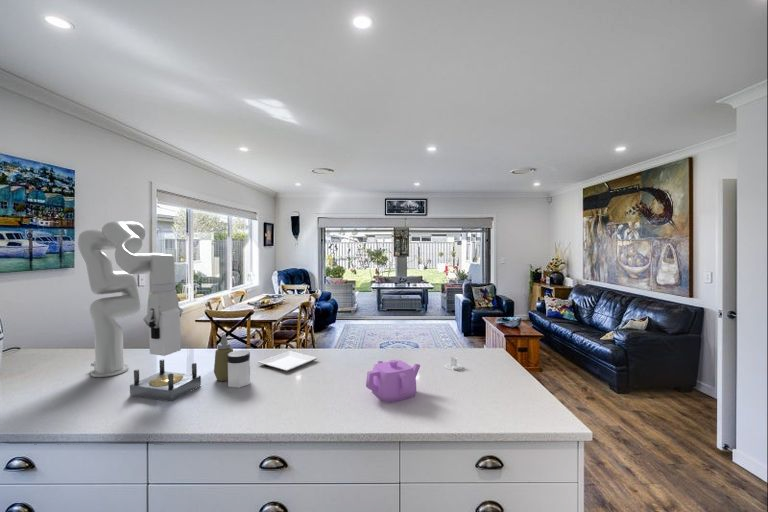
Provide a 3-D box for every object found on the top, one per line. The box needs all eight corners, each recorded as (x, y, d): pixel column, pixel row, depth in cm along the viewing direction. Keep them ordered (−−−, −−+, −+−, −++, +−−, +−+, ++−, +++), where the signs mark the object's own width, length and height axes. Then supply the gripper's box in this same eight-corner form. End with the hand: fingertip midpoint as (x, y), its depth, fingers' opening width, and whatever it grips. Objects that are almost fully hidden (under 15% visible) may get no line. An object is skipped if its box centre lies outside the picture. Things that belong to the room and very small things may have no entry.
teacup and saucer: (461, 372, 157) (461, 363, 157) (442, 370, 159) (442, 361, 159) (463, 365, 165) (463, 356, 165) (445, 363, 168) (446, 354, 168)
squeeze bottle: (227, 383, 143) (226, 338, 142) (209, 381, 145) (208, 336, 144) (239, 375, 151) (238, 332, 150) (222, 374, 153) (221, 331, 152)
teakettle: (363, 400, 129) (363, 366, 128) (378, 382, 145) (378, 351, 145) (411, 407, 124) (411, 371, 124) (420, 387, 141) (421, 355, 140)
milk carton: (181, 350, 138) (179, 300, 137) (164, 356, 131) (162, 303, 130) (166, 348, 140) (165, 299, 139) (149, 354, 133) (147, 302, 132)
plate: (317, 361, 169) (317, 357, 169) (286, 374, 153) (286, 370, 153) (289, 354, 179) (289, 350, 179) (257, 365, 163) (257, 361, 163)
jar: (250, 386, 141) (250, 355, 140) (227, 389, 138) (227, 358, 137) (250, 377, 149) (249, 348, 148) (228, 380, 146) (227, 351, 145)
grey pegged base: (130, 395, 132) (129, 371, 131) (162, 380, 146) (161, 358, 145) (171, 401, 128) (170, 376, 127) (200, 385, 141) (200, 362, 141)
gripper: (174, 284, 144) (175, 329, 145) (133, 291, 127) (135, 341, 128) (190, 285, 142) (191, 330, 143) (151, 292, 125) (153, 343, 126)
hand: (164, 335), depth 135 cm, fingers closed on milk carton, 7 cm apart
